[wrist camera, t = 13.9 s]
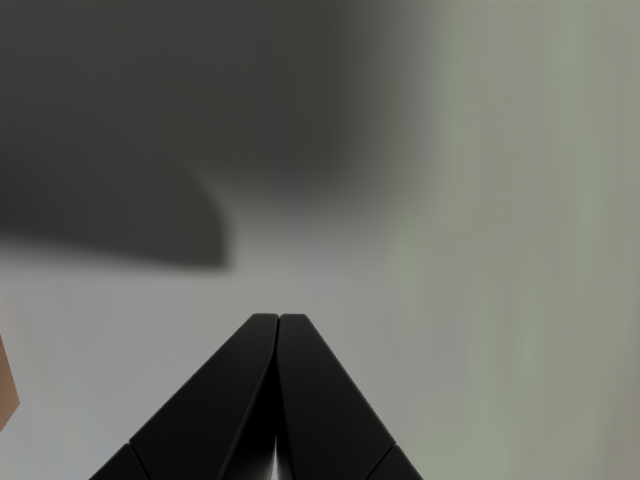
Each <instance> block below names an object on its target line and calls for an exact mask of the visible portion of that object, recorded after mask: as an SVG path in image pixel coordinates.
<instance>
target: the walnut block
mask: <svg viewBox="0 0 640 480" xmlns="http://www.w3.org/2000/svg"><path fill="white" fill-rule="evenodd" d="M19 404H20V402H19V398H18V395H17V391H16V388H15V384H14V381H13V377H12V374H11V370H10V367H9V363H8V360H7V356H6V353H5V349H4V346H3V342H2V339H1V336H0V432H1V431H2V429H3V428H4V426H5V425H6V423H7V422H8V420H9V419H10V417H11V416H12V414H13V413H14V411H15V410H16V409H17V407H18V406H19Z"/></svg>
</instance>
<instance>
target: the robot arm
mask: <svg viewBox="0 0 640 480" xmlns="http://www.w3.org/2000/svg"><path fill="white" fill-rule="evenodd" d="M275 449H276V458H277V475H278V480H423V478H422V477H421V476H420V474H419V473H418V472H417V470H416V469H415V468H414V466H413V465H412V464H411V462H410V461H409V459H408V458H407V456H406V455H405V454H404V452H403V451H402V449H401V448H400V447H399V446H398V445H396V441H395V440H394V438H393V437H392V436H391V434H390V433H389V431H388V430H387V428H386V427H385V426H384V424H383V423H382V421H381V420H380V419H379V417H378V416H377V414H376V413H375V411H374V410H373V409H372V407H371V406H370V404H369V403H368V402H367V400H366V399H365V397H364V396H363V394H362V393H361V392H360V390H359V389H358V387H357V386H356V385H355V383H354V382H353V380H352V379H351V378H350V376H349V375H348V373H347V372H346V370H345V369H344V368H343V366H342V365H341V363H340V362H339V361H338V359H337V358H336V356H335V355H334V353H333V352H332V351H331V349H330V348H329V346H328V345H327V344H326V342H325V341H324V339H323V338H322V336H321V335H320V334H319V332H318V331H317V329H316V328H315V327H314V325H313V324H312V322H311V321H310V319H309V318H308V317H307V316H306V315H305V314H282V315H281V316H280V318H279V315H277V314H268V313H256V314H253V315H252V316H251V317H250V318H249V319H248V320H247V321H246V322H245V323H244V324H243V325H242V326H241V327H240V328H239V329H238V330H237V331H236V332H235V333H234V334H233V335H232V336H231V337H230V338H229V339H228V340H227V341H226V342H225V343H224V344H223V345H222V346H221V347H220V348H219V349H218V350H217V351H216V352H215V353H214V354H213V355H212V356H211V357H210V358H209V359H208V360H207V361H206V362H205V363H204V364H203V365H202V366H201V367H200V368H199V369H198V370H197V372H196V373H195V374H194V375H193V376H192V377H191V378H190V379H189V380H188V381H187V382H186V383H185V384H184V385H183V386H182V387H181V388H180V389H179V390H178V391H177V392H176V393H175V394H174V395H173V396H172V397H171V398H170V399H169V400H168V401H167V402H166V403H165V404H164V405H163V406H162V407H161V408H160V409H159V410H158V411H157V412H156V413H155V414H154V415H153V416H152V417H151V418H150V419H149V420H148V421H147V422H146V423H145V424H144V425H143V426H142V427H141V428H140V429H139V430H138V431H137V432H136V433H135V434H134V435H133V436H132V437H131V438H130V440H129V444H128V443H126V444H124V445H123V446H122V447H121V448H120V449H119V450H118V451H117V452H116V453H115V454H114V455H113V456H112V457H111V458H110V459H109V460H108V461H107V462H106V463H105V464H104V465H103V466H102V467H101V468H100V469H99V470H98V471H97V472H96V473H95V474H94V475H93V476H92V477H91V478H90V479H89V480H271V476H272V471H273V464H274V458H275Z"/></svg>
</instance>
